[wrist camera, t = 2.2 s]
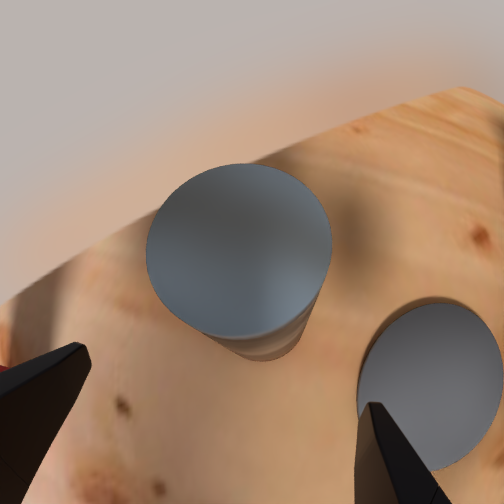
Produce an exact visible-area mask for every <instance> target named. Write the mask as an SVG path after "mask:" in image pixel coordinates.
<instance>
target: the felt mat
mask: <svg viewBox="0 0 504 504" xmlns="http://www.w3.org/2000/svg"><path fill="white" fill-rule="evenodd" d="M502 389H503V363H502V358H501V354H500V350H499V347H498V344H497V342H496V340H495V338H494V336H493V334H492V333H491V331H490V329H489V328H488V327H487V326H486V324H485V323H484V322H483V321H482V320H481V319H480V318H479V317H478V316H476V315H475V314H474V313H472V312H471V311H469V310H467V309H465V308H463V307H460V306H457V305H454V304H447V303H434V304H428V305H424V306H421V307H418V308H416V309H413V310H411V311H409V312H407V313H406V314H404V315H403V316H401V317H400V318H398V319H396V320H395V321H394V322H393V323H392V324H391V325H389V326H388V327H387V328H386V329H385V330H384V332H383V333H382V334H381V335H380V336H379V337H378V339H377V340H376V342H375V343H374V344H373V346H372V348H371V350H370V351H369V353H368V355H367V357H366V360H365V362H364V364H363V367H362V370H361V374H360V377H359V382H358V387H357V400H356V401H357V414H358V420H359V418H360V416H361V414H362V412H363V410H364V408H365V405H366V404H367V403H368V402H370V401H372V402H381V403H382V404H383V405H384V406H385V408H386V409H387V411H388V412H389V414H390V415H391V416H392V418H393V419H394V421H395V422H396V424H397V425H398V426H399V428H400V429H401V431H402V432H403V434H404V435H405V436H406V438H407V439H408V441H409V442H410V444H411V445H412V447H413V448H414V449H415V451H416V452H417V454H418V455H419V457H420V458H421V460H422V461H423V462H424V464H425V465H426V467H427V468H428V470H429V471H435V470H439V469H442V468H444V467H447V466H449V465H451V464H453V463H455V462H457V461H458V460H460V459H461V458H463V457H464V456H465V455H467V454H468V453H469V452H470V451H471V450H472V449H473V448H474V447H475V446H476V445H477V444H478V443H479V442H480V441H481V439H482V438H483V437H484V435H485V434H486V432H487V431H488V429H489V427H490V426H491V424H492V422H493V420H494V418H495V415H496V413H497V410H498V407H499V404H500V400H501V396H502Z"/></svg>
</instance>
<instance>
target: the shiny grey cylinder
mask: <svg viewBox="0 0 504 504" xmlns="http://www.w3.org/2000/svg"><path fill="white" fill-rule="evenodd" d="M331 254H332V235H331V228H330V224H329V221H328V218H327V215H326V213H325V211H324V209H323V207H322V205H321V204H320V202H319V200H318V199H317V197H316V196H315V195H314V194H313V193H312V192H311V191H310V189H308V188H307V187H306V186H305V185H304V184H303V183H302V182H300V181H299V180H297V179H296V178H294V177H293V176H291V175H289V174H287V173H285V172H283V171H281V170H278V169H275V168H272V167H268V166H264V165H258V164H231V165H225V166H220V167H217V168H213V169H210V170H207V171H205V172H203V173H201V174H199V175H197V176H195V177H193V178H191V179H189V180H188V181H187V182H185V183H184V184H182V185H181V186H180V187H179V188H178V189H176V190H175V191H174V192H173V193H172V194H171V195H170V196H169V197H168V199H167V200H166V201H165V202H164V204H163V205H162V206H161V208H160V209H159V211H158V213H157V214H156V216H155V218H154V220H153V223H152V225H151V228H150V231H149V235H148V239H147V246H146V263H147V270H148V274H149V277H150V281H151V283H152V286H153V288H154V290H155V292H156V294H157V295H158V297H159V298H160V300H161V301H162V302H163V304H164V305H165V306H166V307H167V308H168V309H169V310H170V311H171V312H172V313H173V314H174V315H176V316H177V317H178V318H179V319H181V320H182V321H184V322H185V323H187V324H189V325H190V326H192V327H193V328H195V329H196V330H198V331H200V332H201V333H203V334H204V335H206V336H208V337H209V338H211V339H213V340H214V341H216V342H218V343H219V344H221V345H222V346H224V347H226V348H228V349H229V350H231V351H233V352H234V353H236V354H238V355H239V356H241V357H243V358H246V359H248V360H252V361H271V360H274V359H277V358H280V357H282V356H284V355H285V354H287V353H288V352H289V351H290V350H292V349H293V347H294V346H295V345H296V344H297V342H298V341H299V339H300V337H301V335H302V333H303V331H304V328H305V326H306V324H307V321H308V319H309V316H310V314H311V312H312V309H313V307H314V304H315V302H316V299H317V297H318V295H319V292H320V290H321V287H322V284H323V282H324V279H325V277H326V274H327V271H328V268H329V265H330V260H331Z"/></svg>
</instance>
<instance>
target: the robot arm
mask: <svg viewBox="0 0 504 504" xmlns="http://www.w3.org/2000/svg"><path fill="white" fill-rule="evenodd" d="M91 366H92V363H91V359H90V356H89V353H88V350H87V347H86V346H85V345H84V344H81V343H79V342H73V343H70V344H68V345H66V346H63V347H61V348H58V349H56V350H54V351H51V352H49V353H46V354H44V355H41V356H39V357H37V358H34V359H32V360H29V361H27V362H24V363H22V364H20V365H17V366H15V367H12V368H10V369H7V370H5V371H2V372H0V504H21V503H22V501H23V499H24V497H25V495H26V492H27V490H28V488H29V486H30V484H31V482H32V480H33V478H34V476H35V474H36V472H37V470H38V468H39V466H40V465H41V463H42V461H43V459H44V457H45V455H46V453H47V451H48V450H49V448H50V446H51V444H52V442H53V440H54V439H55V437H56V435H57V433H58V431H59V430H60V428H61V426H62V424H63V423H64V421H65V419H66V417H67V416H68V414H69V412H70V411H71V409H72V407H73V405H74V403H75V402H76V400H77V397H78V395H79V393H80V391H81V389H82V387H83V384H84V382H85V380H86V378H87V376H88V374H89V372H90V370H91ZM354 491H355V504H452V503H451V502H450V500H449V499H448V497H447V496H446V495H445V493H444V492H443V490H442V489H441V487H440V486H438V483H437V482H436V480H435V479H434V477H433V476H432V474H431V473H430V471H429V470H428V468H427V467H426V465H425V464H424V462H423V461H422V460H421V458H420V457H419V455H418V454H417V452H416V451H415V449H414V448H413V447H412V445H411V444H410V442H409V441H408V439H407V438H406V436H405V435H404V434H403V432H402V431H401V429H400V428H399V426H398V425H397V424H396V422H395V421H394V419H393V418H392V416H391V415H390V414H389V412H388V411H387V409H386V408H385V406H384V405H383V404H382V403H381V402H372V401H370V402H368V403H367V404H366V405H365V408H364V410H363V412H362V414H361V416H360V418H359V421H358V431H357V444H356V455H355V466H354Z"/></svg>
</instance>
